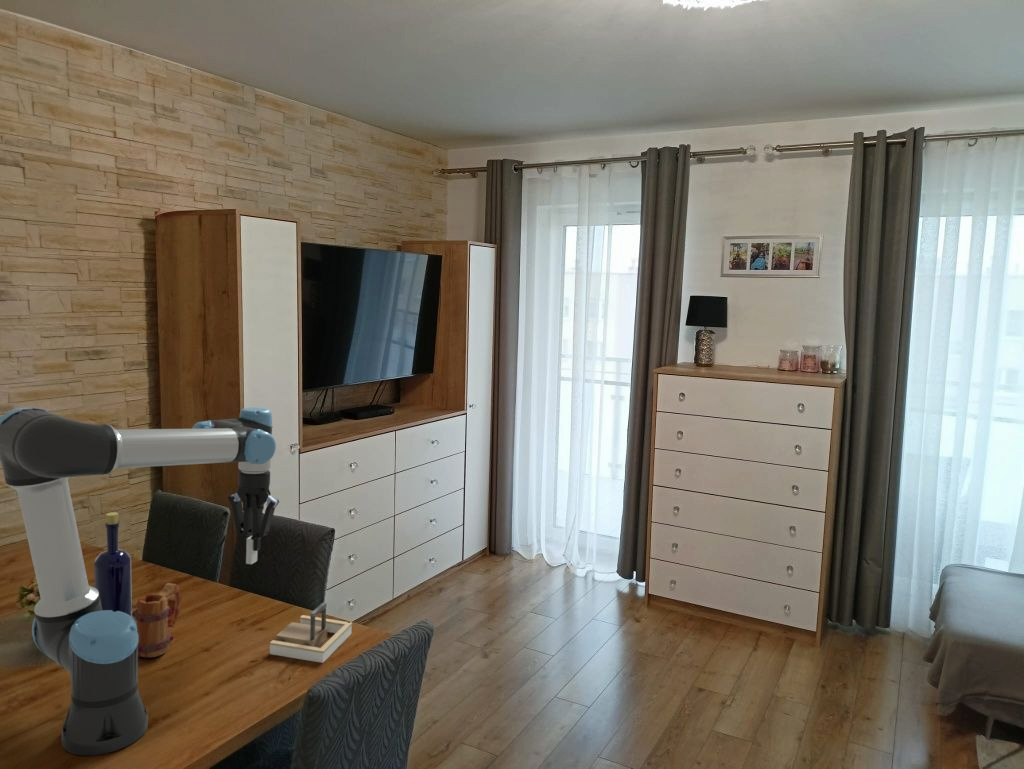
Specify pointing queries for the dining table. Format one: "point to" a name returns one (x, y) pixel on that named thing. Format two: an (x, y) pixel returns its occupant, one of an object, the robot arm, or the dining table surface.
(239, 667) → the dining table surface
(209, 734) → the dining table surface
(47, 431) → the robot arm
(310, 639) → the trolley
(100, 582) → the bottle
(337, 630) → the bay
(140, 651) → the mug
